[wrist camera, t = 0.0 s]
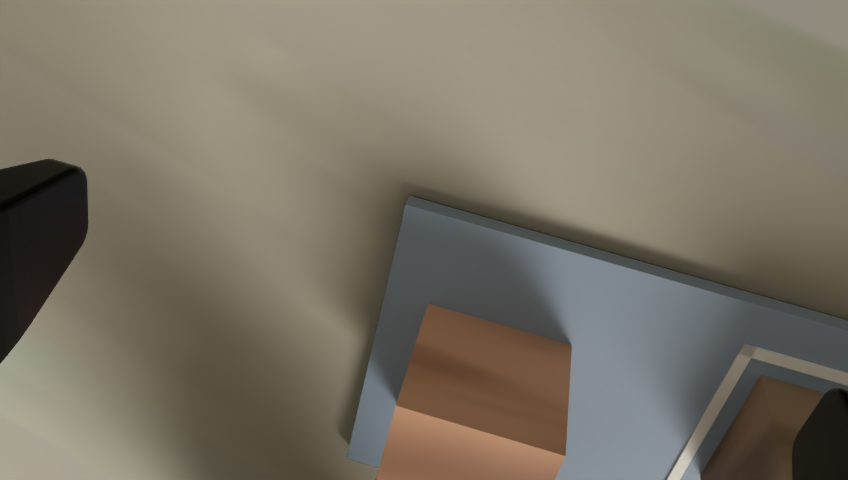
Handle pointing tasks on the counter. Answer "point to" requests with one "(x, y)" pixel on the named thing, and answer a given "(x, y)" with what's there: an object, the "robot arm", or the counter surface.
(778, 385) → the walnut block
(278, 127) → the counter surface
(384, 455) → the terracotta block
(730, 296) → the board
